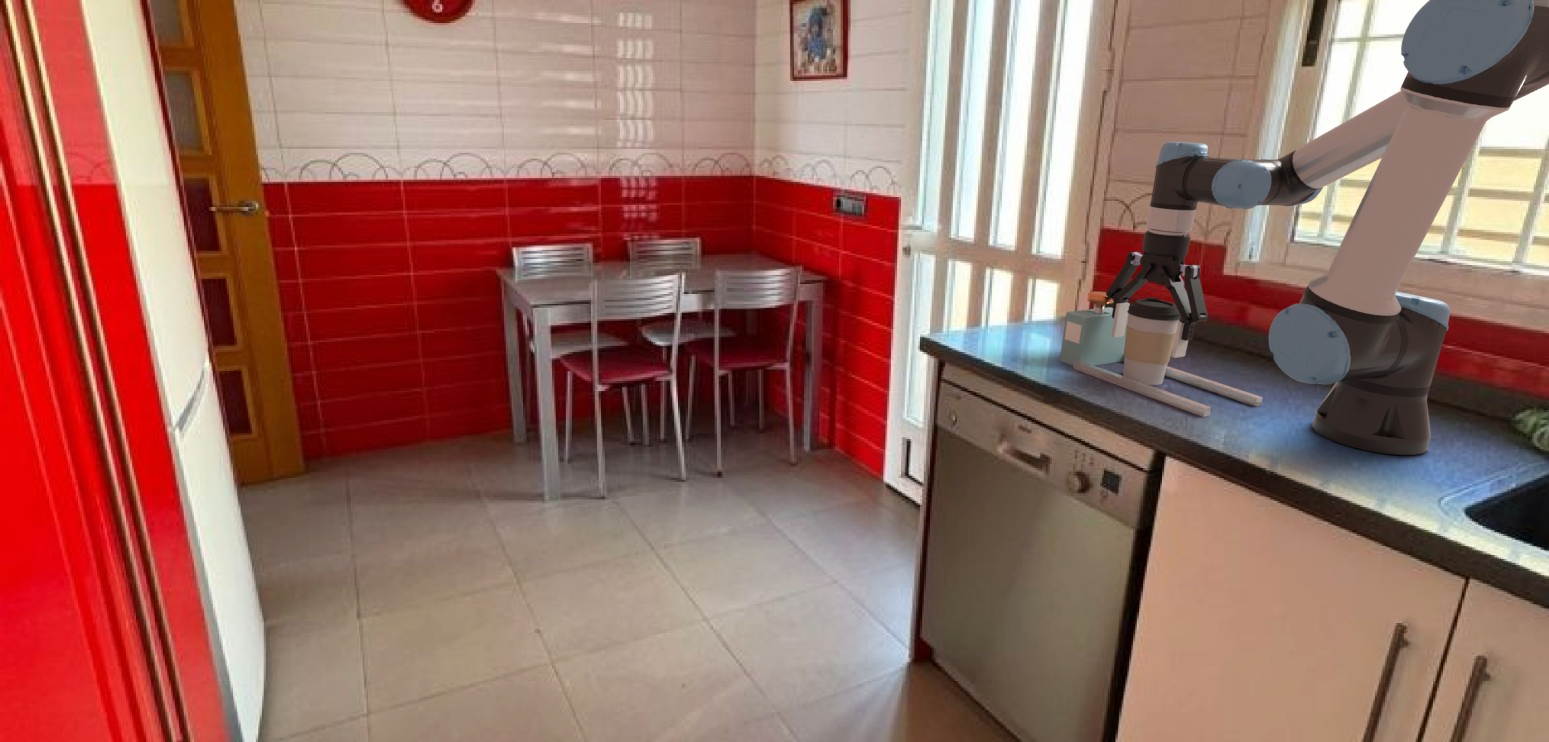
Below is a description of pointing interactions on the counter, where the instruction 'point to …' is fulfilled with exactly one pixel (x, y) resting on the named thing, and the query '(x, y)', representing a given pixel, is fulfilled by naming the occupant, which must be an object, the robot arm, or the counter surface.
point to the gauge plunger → (1099, 301)
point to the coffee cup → (1149, 339)
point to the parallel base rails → (1167, 396)
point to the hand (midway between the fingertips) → (1146, 346)
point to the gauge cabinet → (1091, 338)
